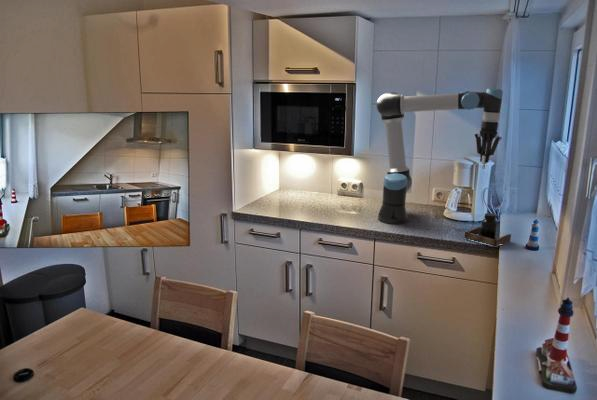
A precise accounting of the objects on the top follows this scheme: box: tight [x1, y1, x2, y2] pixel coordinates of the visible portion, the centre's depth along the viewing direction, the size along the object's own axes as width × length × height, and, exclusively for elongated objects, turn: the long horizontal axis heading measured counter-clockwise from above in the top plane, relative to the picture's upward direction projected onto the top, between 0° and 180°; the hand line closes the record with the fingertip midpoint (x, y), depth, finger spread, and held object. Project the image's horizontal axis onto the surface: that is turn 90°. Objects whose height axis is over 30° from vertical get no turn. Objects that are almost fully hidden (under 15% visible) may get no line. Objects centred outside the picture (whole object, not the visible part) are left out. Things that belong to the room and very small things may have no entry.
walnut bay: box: [464, 225, 512, 246], centre depth 215 cm, size 15×14×4 cm
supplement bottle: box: [479, 212, 498, 240], centre depth 216 cm, size 7×7×12 cm
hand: (483, 168), depth 234 cm, fingers closed
